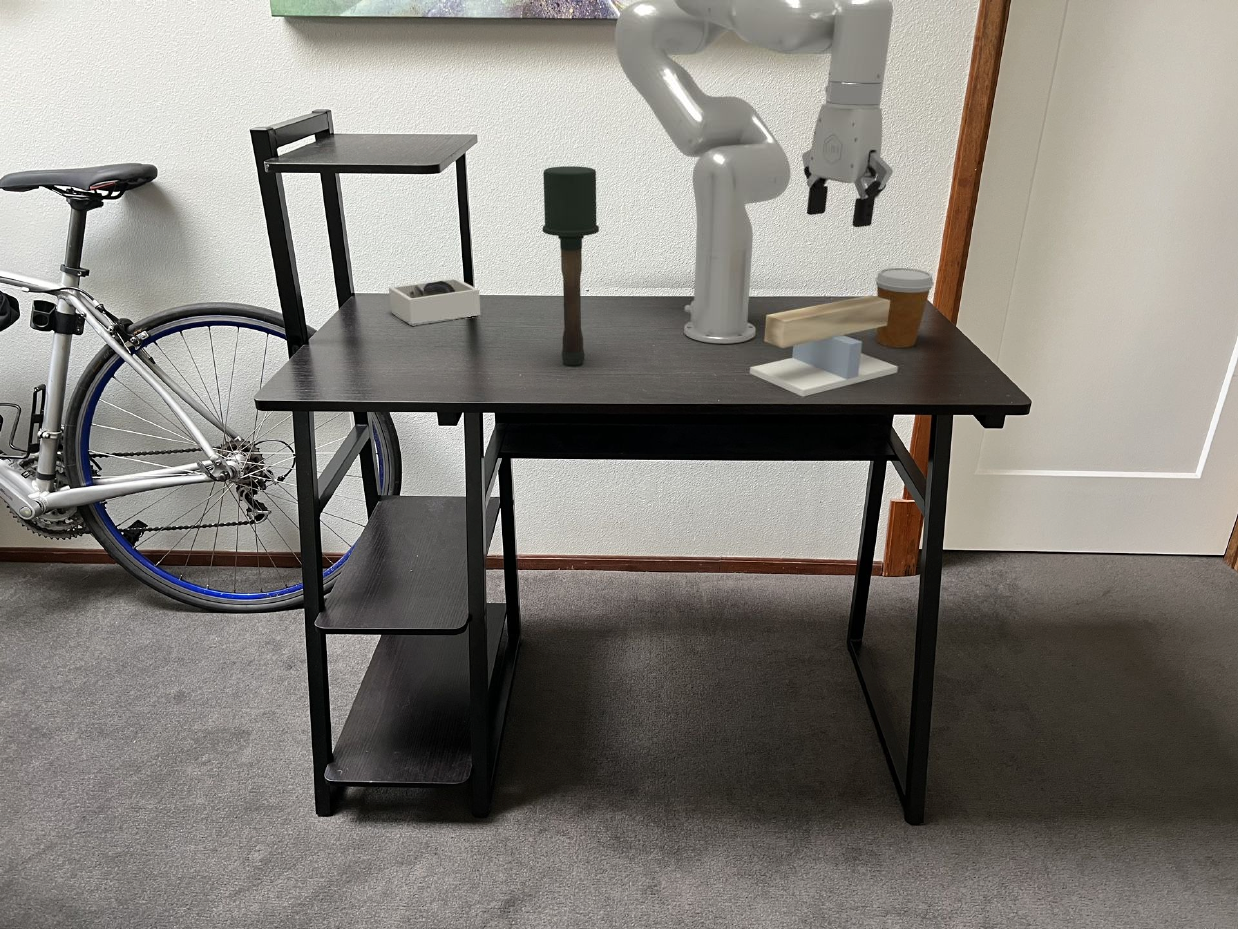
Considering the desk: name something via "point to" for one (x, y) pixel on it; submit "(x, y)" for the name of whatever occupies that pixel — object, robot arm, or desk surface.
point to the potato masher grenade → (570, 241)
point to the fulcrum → (823, 366)
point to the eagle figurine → (433, 289)
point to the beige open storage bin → (435, 302)
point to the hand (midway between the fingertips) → (838, 219)
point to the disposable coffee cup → (902, 304)
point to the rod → (826, 321)
